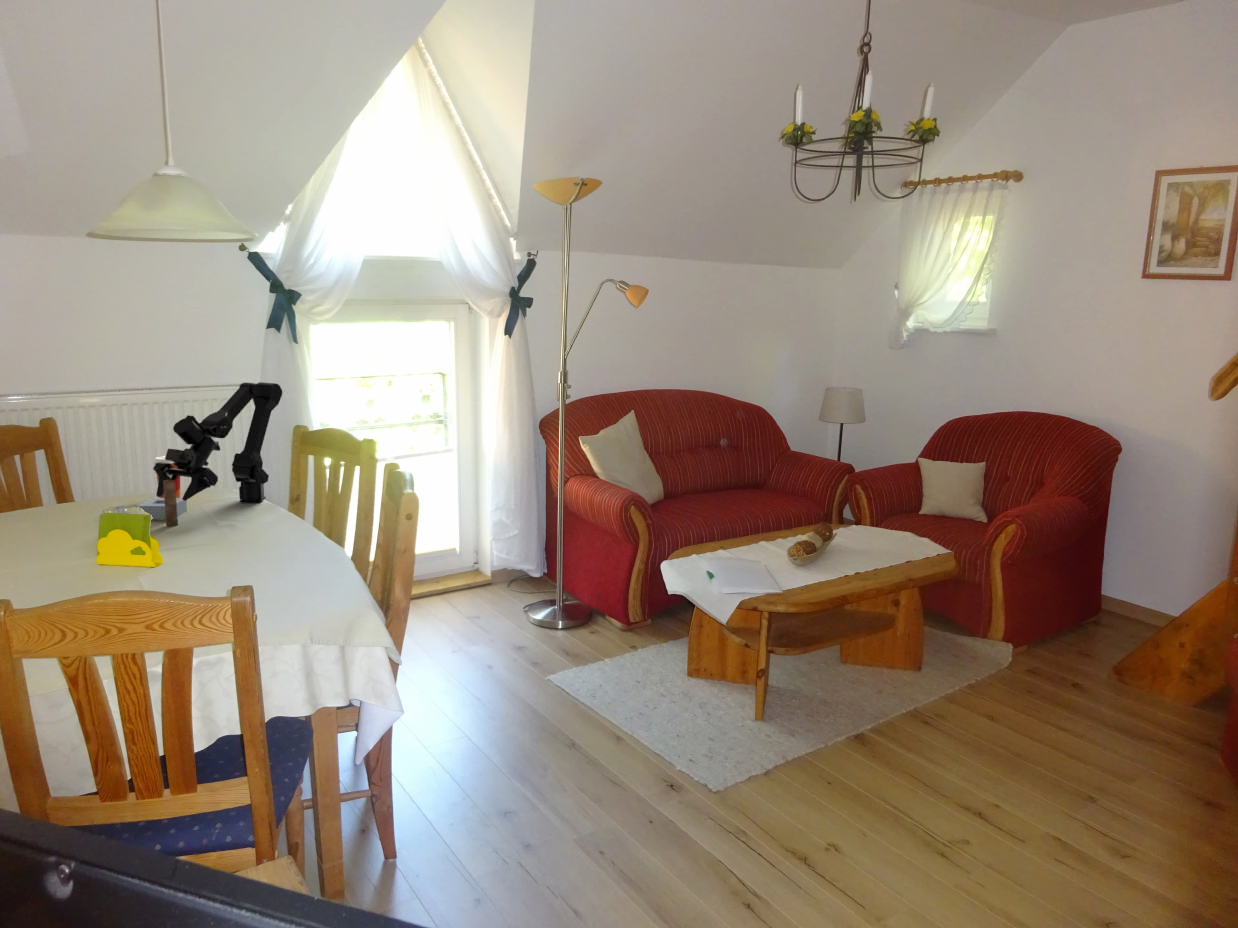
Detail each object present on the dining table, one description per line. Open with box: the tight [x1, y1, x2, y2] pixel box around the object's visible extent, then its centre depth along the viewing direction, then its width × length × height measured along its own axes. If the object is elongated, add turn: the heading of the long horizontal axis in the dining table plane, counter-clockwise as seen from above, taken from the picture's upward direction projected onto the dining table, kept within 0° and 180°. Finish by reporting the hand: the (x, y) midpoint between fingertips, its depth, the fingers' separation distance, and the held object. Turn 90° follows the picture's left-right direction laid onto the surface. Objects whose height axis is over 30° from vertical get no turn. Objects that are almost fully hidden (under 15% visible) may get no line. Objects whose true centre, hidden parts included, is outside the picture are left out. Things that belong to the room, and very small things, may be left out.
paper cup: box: [153, 455, 181, 498], centre depth 267 cm, size 8×8×14 cm
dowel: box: [163, 480, 179, 528], centre depth 240 cm, size 3×3×13 cm
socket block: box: [136, 497, 188, 520], centre depth 251 cm, size 10×10×4 cm
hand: (170, 498), depth 240 cm, fingers open, 9 cm apart
